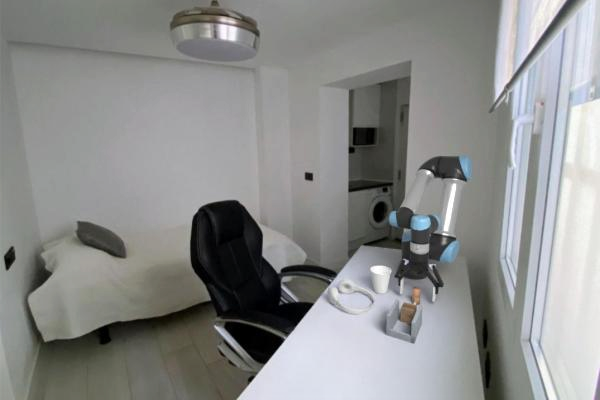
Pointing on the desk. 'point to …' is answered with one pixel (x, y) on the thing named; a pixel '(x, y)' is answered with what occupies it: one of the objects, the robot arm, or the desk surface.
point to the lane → (392, 320)
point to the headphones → (347, 288)
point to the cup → (380, 278)
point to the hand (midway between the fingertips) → (417, 296)
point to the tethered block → (410, 307)
